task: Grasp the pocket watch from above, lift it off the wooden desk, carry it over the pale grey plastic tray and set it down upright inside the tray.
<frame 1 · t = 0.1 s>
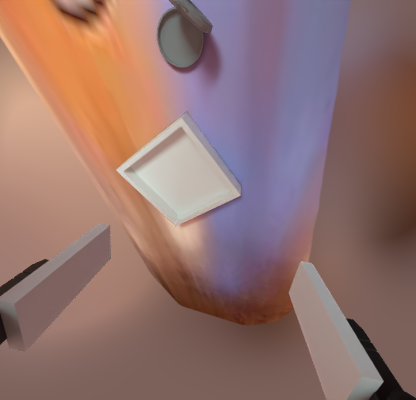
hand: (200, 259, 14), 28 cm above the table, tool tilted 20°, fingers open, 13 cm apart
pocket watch: (187, 31, 28), on the table
tray: (182, 173, 43), on the table
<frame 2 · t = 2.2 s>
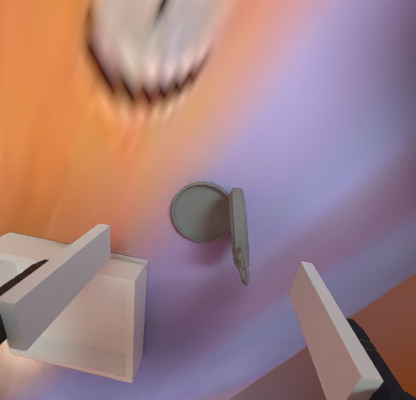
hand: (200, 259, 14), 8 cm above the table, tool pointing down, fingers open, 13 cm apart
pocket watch: (215, 210, 21), on the table
tray: (82, 300, 28), on the table
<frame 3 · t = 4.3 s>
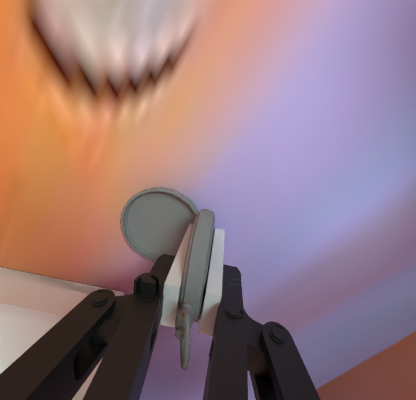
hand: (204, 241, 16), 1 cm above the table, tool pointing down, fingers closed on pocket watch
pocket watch: (179, 226, 17), on the table, touching gripper
tray: (48, 336, 24), on the table
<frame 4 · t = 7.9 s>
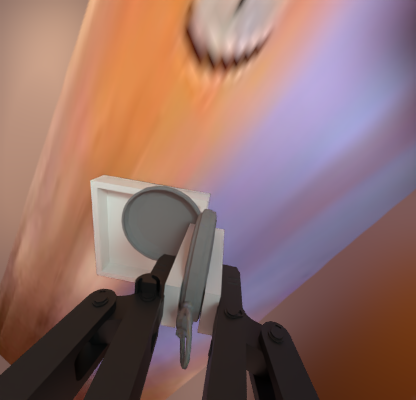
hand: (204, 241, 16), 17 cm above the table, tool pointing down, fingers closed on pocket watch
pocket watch: (179, 225, 17), point 16 cm above the table, touching gripper
tray: (153, 231, 36), on the table
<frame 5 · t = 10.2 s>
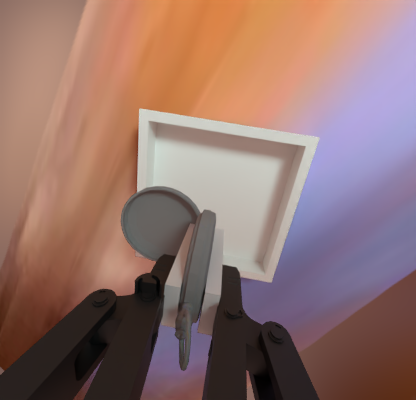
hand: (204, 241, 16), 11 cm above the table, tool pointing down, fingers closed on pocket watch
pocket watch: (179, 225, 17), point 10 cm above the table, touching gripper
tray: (215, 196, 26), on the table
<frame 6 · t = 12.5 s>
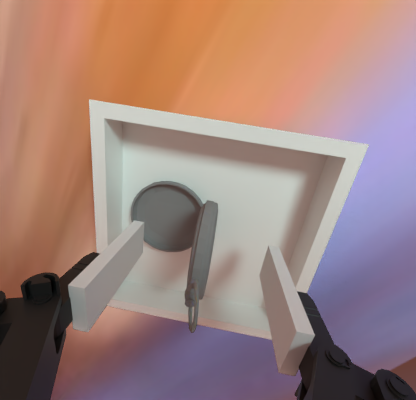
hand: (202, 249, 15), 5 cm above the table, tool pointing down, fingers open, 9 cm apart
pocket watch: (184, 217, 18), point 1 cm above the table, touching tray
tray: (208, 222, 19), on the table
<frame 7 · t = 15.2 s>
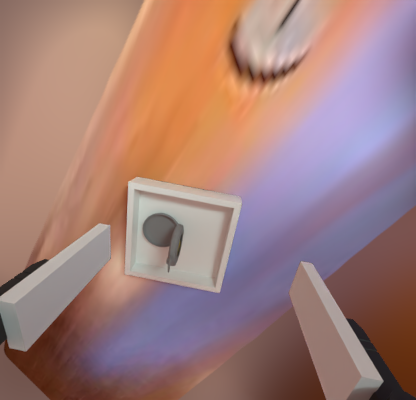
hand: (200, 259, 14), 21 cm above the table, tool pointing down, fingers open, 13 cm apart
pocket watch: (169, 229, 37), point 1 cm above the table, touching tray
tray: (181, 232, 38), on the table
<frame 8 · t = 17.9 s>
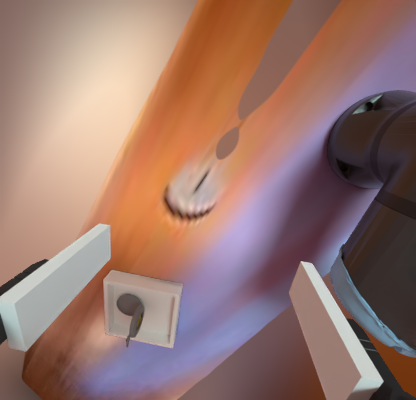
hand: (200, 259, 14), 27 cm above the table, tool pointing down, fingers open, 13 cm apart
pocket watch: (135, 303, 52), point 1 cm above the table, touching tray
tray: (145, 304, 52), on the table
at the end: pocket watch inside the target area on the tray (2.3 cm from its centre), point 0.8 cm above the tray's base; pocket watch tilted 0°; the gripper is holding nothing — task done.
